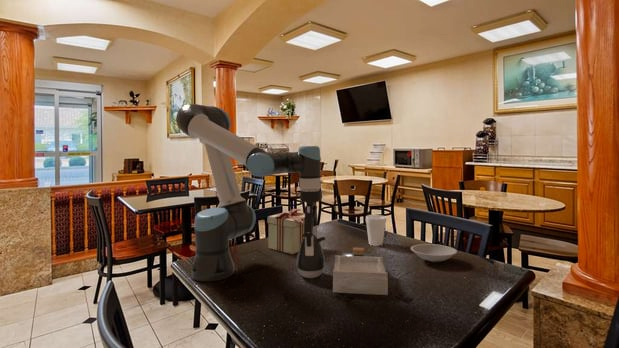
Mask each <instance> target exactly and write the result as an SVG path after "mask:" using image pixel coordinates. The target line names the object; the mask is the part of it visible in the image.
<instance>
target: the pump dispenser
mask: <svg viewBox="0 0 619 348" xmlns="http://www.w3.org/2000/svg"><path fill="white" fill-rule="evenodd" d="M325 240H326V237H325V236H322V237H318V238H317V237H316V236H315V235H314V234H313V248H314V255H313V256H305V237H304V238H303V240H302V242H301V244H300V247H299V251H298V252H297V255H296V256H297V257H296V268H297V270H298V273H299V274H300V275H301V276H302V277H304V278H306V279H316V278H318V277H320V276H321V274H323V272H324V269H325V267H326V261H325V259H326V258H325V254H324V250H323V246H322V244H321V242H324V241H325Z"/></svg>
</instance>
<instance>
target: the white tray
mask: <svg viewBox="0 0 619 348" xmlns="http://www.w3.org/2000/svg"><path fill="white" fill-rule="evenodd" d="M388 276H389V275H388V272H386V268H385V265H384V257H383V256H376V254H375V253H365V248H364V247H352V252H342V253H341V255H339V254H338V255H336V254H335V255H334V265H333V270H332V293H341V294H356V295H358V294H360V295H361V294H363V295H378V296H380V295H382V296H388V294H389V282H388V281H389V279H388Z"/></svg>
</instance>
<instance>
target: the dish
mask: <svg viewBox="0 0 619 348" xmlns="http://www.w3.org/2000/svg"><path fill="white" fill-rule="evenodd" d="M410 250H411V251H412V252H413V253H414V255H416V256H417V257H419V258H421V259H422V260H424V261H429V262H432V263H436V262H443V261H447V260H449V259H450V258H452V257H453V256H454V255H456V254H457V253H458V250H457V249H456V248H454V247H451V246H449V245H448V246H447V245H444V244H433V243H421V244H419V243H418V244H416V245H412V246H410Z"/></svg>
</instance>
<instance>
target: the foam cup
mask: <svg viewBox="0 0 619 348" xmlns="http://www.w3.org/2000/svg"><path fill="white" fill-rule="evenodd" d="M365 223H366V230H367V239H368V244H370V245H369V246H372V245H373V247H380V246H379V245H381V246H383V243H384V237H385V231H386V228H385V227H386V223H387V217H386V216H385V215H380V214H379V215H378V214H368V215H366V216H365Z"/></svg>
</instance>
